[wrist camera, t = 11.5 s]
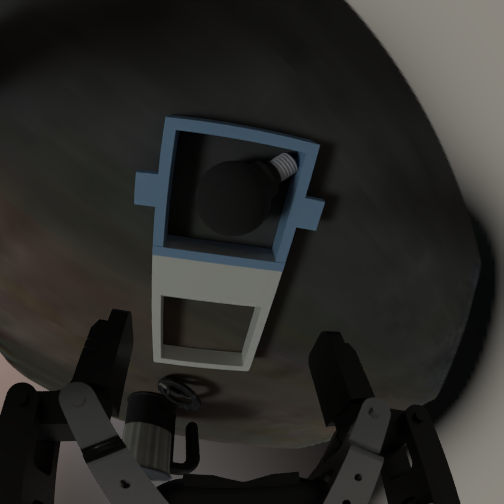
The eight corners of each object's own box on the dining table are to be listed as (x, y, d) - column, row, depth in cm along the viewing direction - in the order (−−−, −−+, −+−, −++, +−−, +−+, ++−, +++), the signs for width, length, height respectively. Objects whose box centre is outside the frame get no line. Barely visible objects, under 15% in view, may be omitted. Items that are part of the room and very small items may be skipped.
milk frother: (132, 411, 48) (123, 476, 35) (113, 365, 40) (94, 448, 27) (203, 417, 50) (204, 485, 37) (200, 373, 42) (200, 462, 29)
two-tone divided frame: (142, 345, 37) (139, 359, 35) (149, 112, 23) (142, 115, 20) (260, 358, 40) (262, 372, 38) (331, 145, 26) (341, 151, 23)
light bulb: (329, 188, 24) (231, 257, 22) (296, 190, 30) (215, 245, 28) (292, 120, 22) (183, 184, 20) (264, 136, 28) (178, 189, 26)
